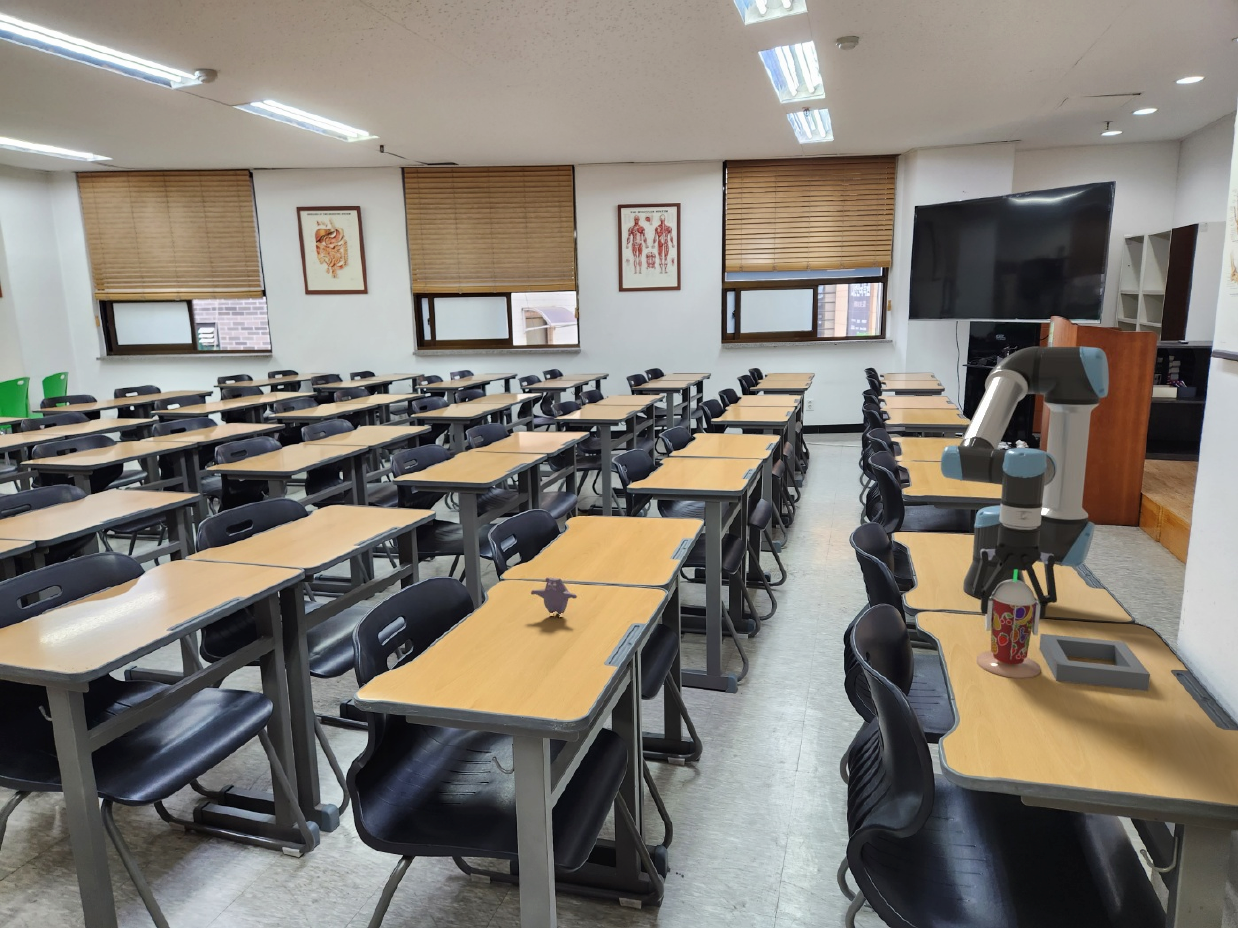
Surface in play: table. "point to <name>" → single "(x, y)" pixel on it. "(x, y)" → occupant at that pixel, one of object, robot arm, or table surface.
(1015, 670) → the pink flat disc
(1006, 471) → the robot arm
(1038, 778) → the table surface
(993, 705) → the table surface
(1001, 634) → the smoothie
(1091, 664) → the holder
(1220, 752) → the table surface
